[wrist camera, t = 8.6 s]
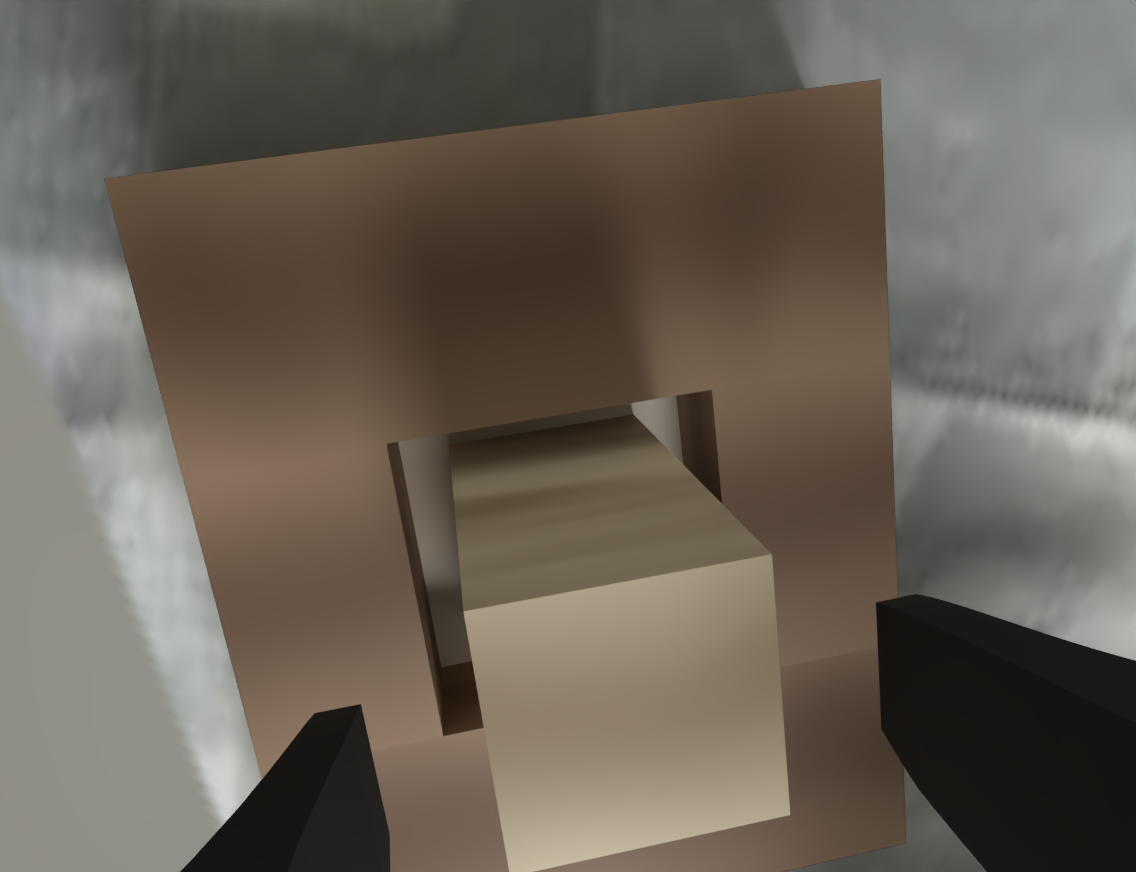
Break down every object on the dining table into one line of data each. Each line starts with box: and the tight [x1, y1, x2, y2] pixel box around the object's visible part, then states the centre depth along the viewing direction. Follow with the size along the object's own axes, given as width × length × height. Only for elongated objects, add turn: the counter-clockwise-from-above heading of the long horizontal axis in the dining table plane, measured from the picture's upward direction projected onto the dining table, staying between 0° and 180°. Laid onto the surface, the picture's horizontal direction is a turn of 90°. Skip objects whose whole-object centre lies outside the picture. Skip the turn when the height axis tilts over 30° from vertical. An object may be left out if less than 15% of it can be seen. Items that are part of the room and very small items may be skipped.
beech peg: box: [449, 415, 790, 872], centre depth 16 cm, size 4×4×8 cm
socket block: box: [104, 79, 906, 872], centre depth 18 cm, size 16×13×3 cm
